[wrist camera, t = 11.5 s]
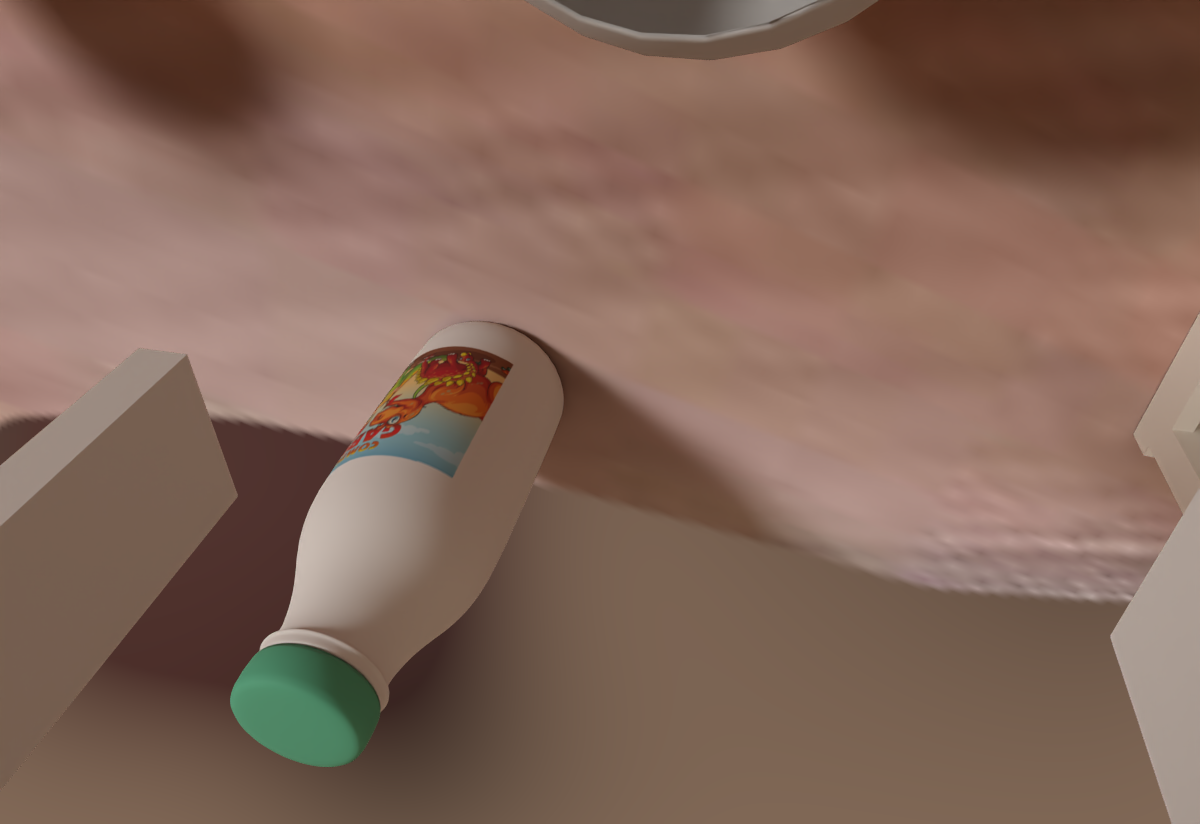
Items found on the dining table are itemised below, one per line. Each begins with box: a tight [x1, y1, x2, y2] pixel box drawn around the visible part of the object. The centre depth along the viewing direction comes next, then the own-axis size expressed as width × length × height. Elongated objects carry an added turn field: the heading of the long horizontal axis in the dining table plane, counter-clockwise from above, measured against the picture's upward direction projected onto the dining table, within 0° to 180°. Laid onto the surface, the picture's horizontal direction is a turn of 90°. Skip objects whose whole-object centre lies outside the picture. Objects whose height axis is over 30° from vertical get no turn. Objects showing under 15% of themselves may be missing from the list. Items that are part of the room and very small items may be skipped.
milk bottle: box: [230, 321, 564, 767], centre depth 34 cm, size 8×8×20 cm
